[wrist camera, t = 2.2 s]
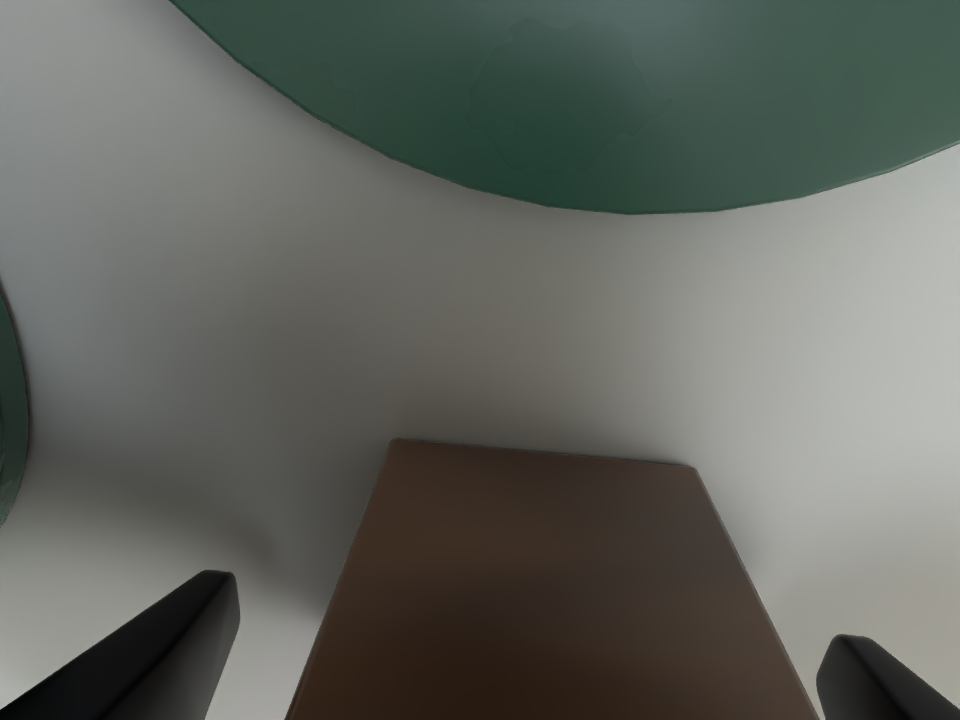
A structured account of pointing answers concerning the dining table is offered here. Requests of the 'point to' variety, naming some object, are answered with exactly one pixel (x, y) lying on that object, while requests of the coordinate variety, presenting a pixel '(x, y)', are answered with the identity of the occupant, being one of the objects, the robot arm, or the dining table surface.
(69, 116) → the dining table surface
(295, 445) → the dining table surface
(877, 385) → the dining table surface
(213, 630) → the robot arm
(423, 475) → the block
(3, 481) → the tin
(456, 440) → the dining table surface
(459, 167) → the tin lid
